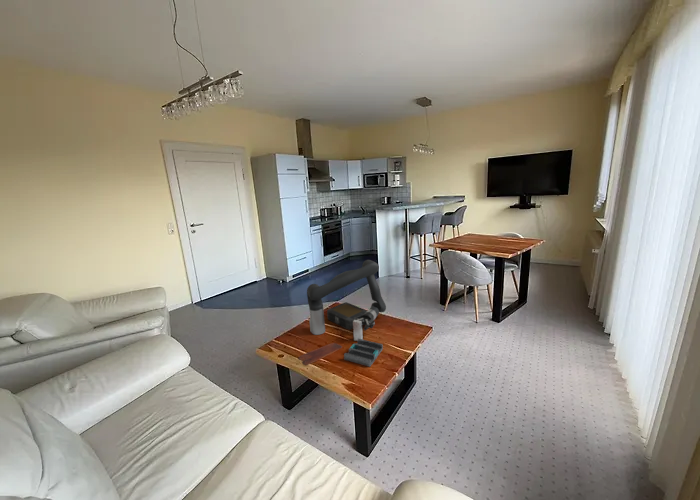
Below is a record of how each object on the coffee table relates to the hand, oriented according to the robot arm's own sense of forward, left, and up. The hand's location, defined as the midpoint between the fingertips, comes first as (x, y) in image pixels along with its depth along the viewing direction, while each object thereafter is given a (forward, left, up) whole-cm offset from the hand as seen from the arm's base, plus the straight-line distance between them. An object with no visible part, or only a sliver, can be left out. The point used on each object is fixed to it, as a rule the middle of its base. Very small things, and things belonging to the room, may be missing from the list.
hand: (358, 327), depth 180 cm
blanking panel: (0, -1, -8) cm, 8 cm away
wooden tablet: (-14, -22, -9) cm, 28 cm away
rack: (+10, -14, -8) cm, 19 cm away
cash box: (-20, +20, -9) cm, 30 cm away
